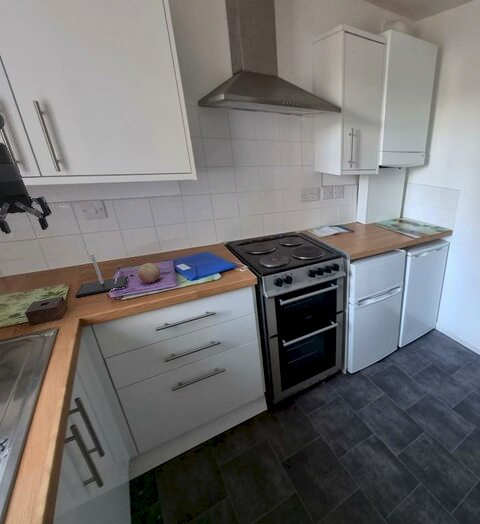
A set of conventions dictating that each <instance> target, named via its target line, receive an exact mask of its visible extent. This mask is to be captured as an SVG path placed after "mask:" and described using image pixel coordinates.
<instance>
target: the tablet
mask: <svg viewBox="0 0 480 524" xmlns="http://www.w3.org/2000/svg"><path fill="white" fill-rule="evenodd" d="M115 278H117V282H116V284H115V283H114V282H115ZM115 278H108V279H103V281H104V285H103V286H102V285H101V283H100V281H99V280H98V281H92V282H86V283H82V284H80V285H79V286H80V287H79V289H78V290H77V292H76V294H75V298H76V299H79V298H84V297H91V296H95V295H96V296H97V295H100V294H105V293H110V292H109V291H110V290H111V289H113V288H122V287H126V283H127V279H128V278H129V276H128V275H125V276H120V277H115ZM128 280H129V279H128ZM127 284H128V283H127ZM126 288H127V287H126Z"/></svg>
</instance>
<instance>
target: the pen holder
mask: <svg viewBox="0 0 480 524" xmlns="http://www.w3.org/2000/svg"><path fill="white" fill-rule="evenodd" d="M68 309H69V307H68V305H67V302H66V300H65V298H64V296H63V295H62V296H57V297H51V298H46V299H45V298H44V299H41V300H35V301H32V302H31V304H29V306H28V307H27V309H26V310H25V311H24V315H25V318H26V319H27V321H28V323H29V325H30V326H35V325H40V324H45V323H50V322H53V321H54V322H55V321H58V319H59V320H62V319H63V318H64V316H65V314H66V312H67V311H68Z"/></svg>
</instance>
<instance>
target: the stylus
mask: <svg viewBox="0 0 480 524" xmlns="http://www.w3.org/2000/svg"><path fill="white" fill-rule="evenodd" d="M89 257H90V259H91V262H92V264H93V267H94V269H95V273H96V275H97V278H98V281H100V283H101V285H102V286H103V285H104V281H103V280H104V278H103V275H102V273H101V270H100V267H99V264H98V262H97V260H96V256H95V254H94V253H93V252H91V253H89Z"/></svg>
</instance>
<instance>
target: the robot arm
mask: <svg viewBox="0 0 480 524" xmlns="http://www.w3.org/2000/svg"><path fill="white" fill-rule="evenodd" d="M5 126H6V120H5V118H4V116H3V115H2V113H0V131H1V130H2V129H3V128H4V127H5ZM33 203H35V204H36V205H39V207H40V208H41V211H40V210H39V209H38V208H37V207H35V206H33ZM17 213H19V214H24V213H28V214H30V215H33V216H34V217H36V218H37V221H38V223H39V226H40V229H41V230H42V231H46V230H47V229H48V228H49V222H48V220H47V218H46V217H49V216H51V215H52V210H51V208H50V206H49V204H48V202H47V200H46V198H45V197H44V196H43V195H41V196H37V197H31V196H30V194H29V191H28V189H27V187H26V184H25V182H24V180H23V175H22V174H21V173H20V171H19V169H18V167H17V165H16V164H15V162H14V159H13V156H12V154H11V151H10V150H9V148H8V146H7V145H6V144H5V143H3V142H1V141H0V231H1V232H2V233H4V234H5V235H9V234H11V233H12V230H11V228H10V225H9V224H8V222H7V220H6V218H7V216H9V214H10V215H14V214H17Z"/></svg>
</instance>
